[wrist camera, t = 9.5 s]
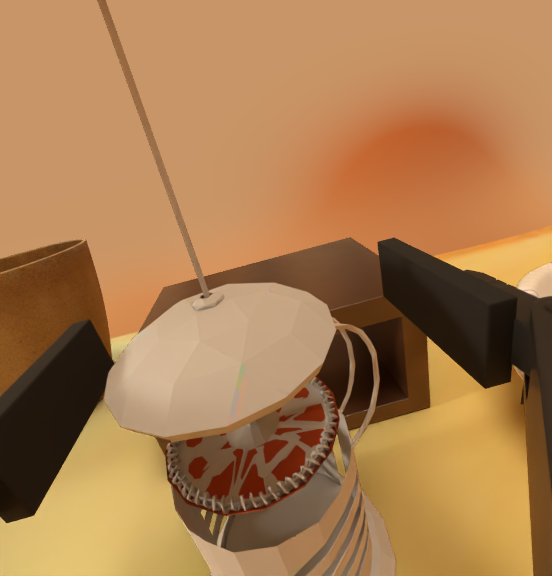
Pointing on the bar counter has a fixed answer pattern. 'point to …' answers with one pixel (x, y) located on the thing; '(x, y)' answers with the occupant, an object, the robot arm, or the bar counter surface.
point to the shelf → (346, 310)
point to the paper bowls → (536, 287)
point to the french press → (251, 421)
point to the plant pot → (45, 303)
